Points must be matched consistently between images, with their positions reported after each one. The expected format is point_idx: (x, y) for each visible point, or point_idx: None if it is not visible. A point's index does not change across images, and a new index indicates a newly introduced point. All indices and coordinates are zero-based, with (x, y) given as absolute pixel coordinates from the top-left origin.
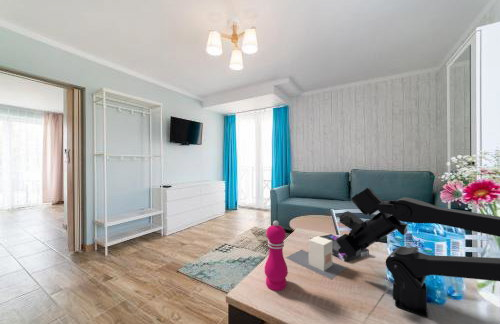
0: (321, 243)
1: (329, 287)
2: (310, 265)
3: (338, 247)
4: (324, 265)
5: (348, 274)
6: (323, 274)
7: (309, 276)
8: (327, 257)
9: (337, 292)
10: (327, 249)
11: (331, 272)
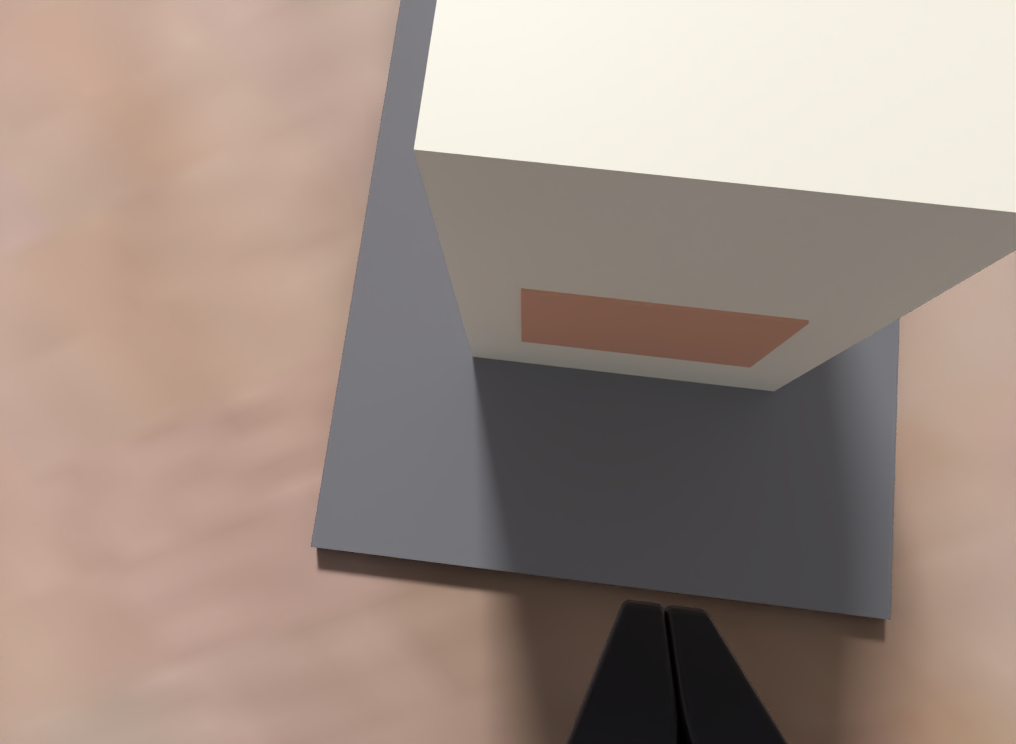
0: (515, 35)
1: (120, 587)
2: None
3: None
4: (493, 337)
5: None
6: (370, 391)
7: (211, 243)
8: (614, 322)
9: (69, 728)
10: (656, 257)
11: (518, 470)
